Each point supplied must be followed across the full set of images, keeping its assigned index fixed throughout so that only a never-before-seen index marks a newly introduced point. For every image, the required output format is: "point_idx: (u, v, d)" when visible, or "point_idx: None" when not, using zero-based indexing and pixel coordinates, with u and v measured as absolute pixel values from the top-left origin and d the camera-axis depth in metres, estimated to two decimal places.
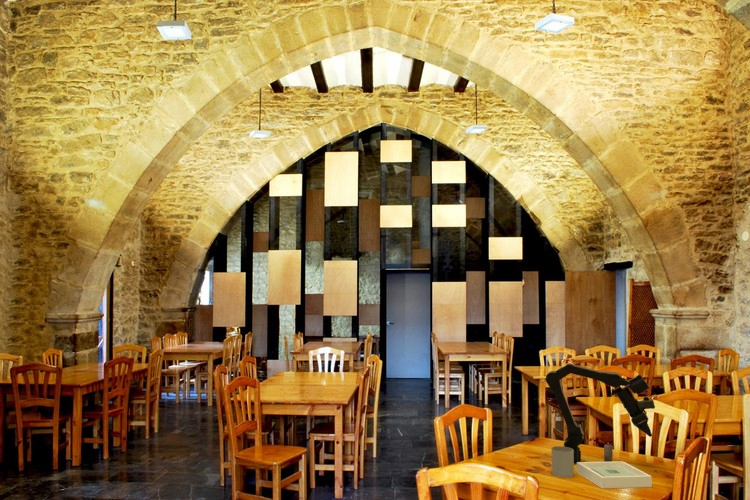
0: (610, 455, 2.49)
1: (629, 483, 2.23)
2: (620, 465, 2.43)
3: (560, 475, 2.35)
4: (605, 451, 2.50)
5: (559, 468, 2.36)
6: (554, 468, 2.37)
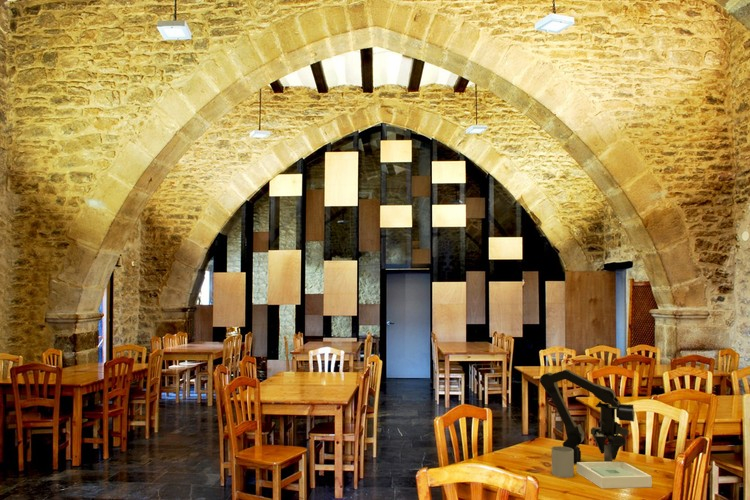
0: (610, 455, 2.49)
1: (629, 483, 2.23)
2: (620, 465, 2.43)
3: (560, 475, 2.35)
4: (605, 451, 2.50)
5: (559, 468, 2.36)
6: (554, 468, 2.37)
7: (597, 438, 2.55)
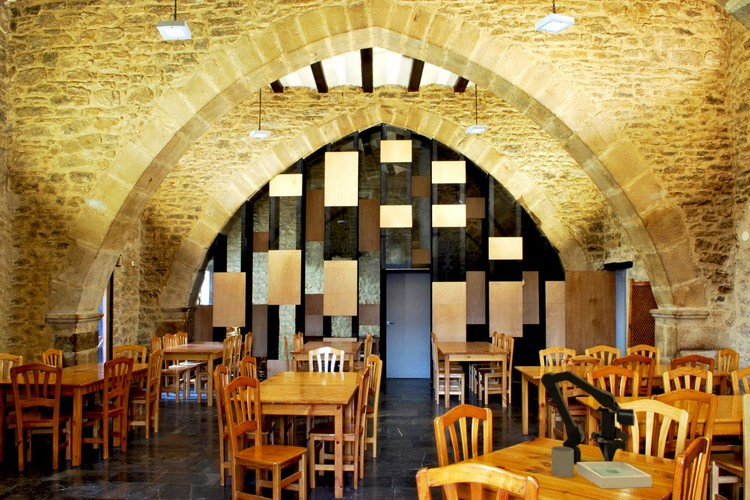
0: None
1: (629, 483, 2.23)
2: (620, 465, 2.43)
3: (560, 475, 2.35)
4: (605, 451, 2.50)
5: (559, 468, 2.36)
6: (554, 468, 2.37)
7: (601, 444, 2.52)
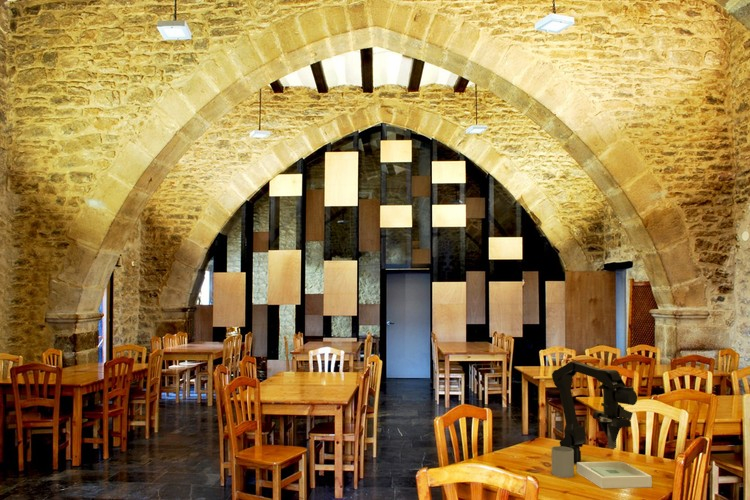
0: None
1: (629, 483, 2.23)
2: (620, 465, 2.43)
3: (560, 475, 2.35)
4: (608, 430, 2.40)
5: (559, 468, 2.36)
6: (554, 468, 2.37)
7: (603, 424, 2.43)
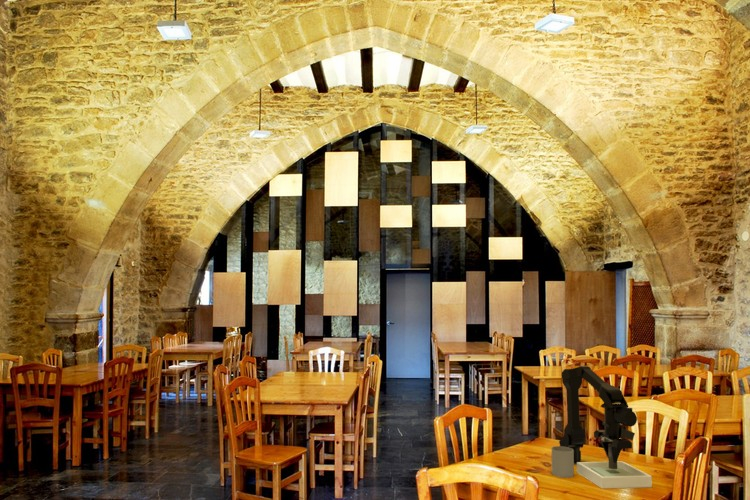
0: None
1: (629, 483, 2.23)
2: (620, 465, 2.43)
3: (560, 475, 2.35)
4: (609, 451, 2.33)
5: (559, 468, 2.36)
6: (554, 468, 2.37)
7: (604, 443, 2.36)
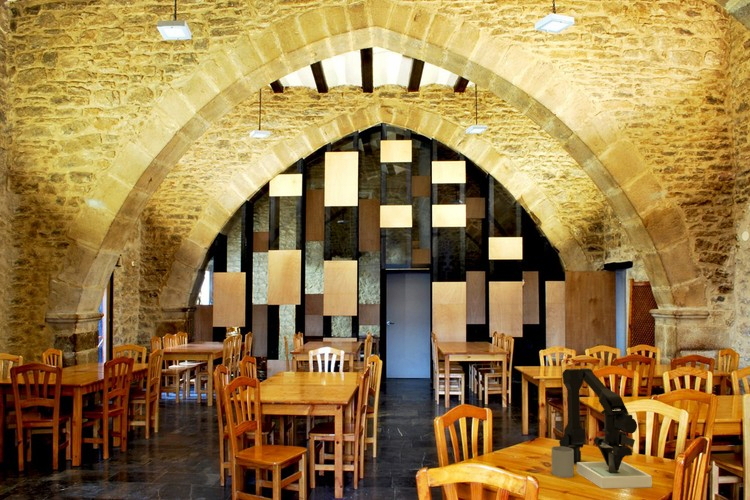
0: None
1: (629, 483, 2.23)
2: (620, 465, 2.43)
3: (560, 475, 2.35)
4: (610, 460, 2.33)
5: (559, 468, 2.36)
6: (554, 468, 2.37)
7: (603, 449, 2.37)
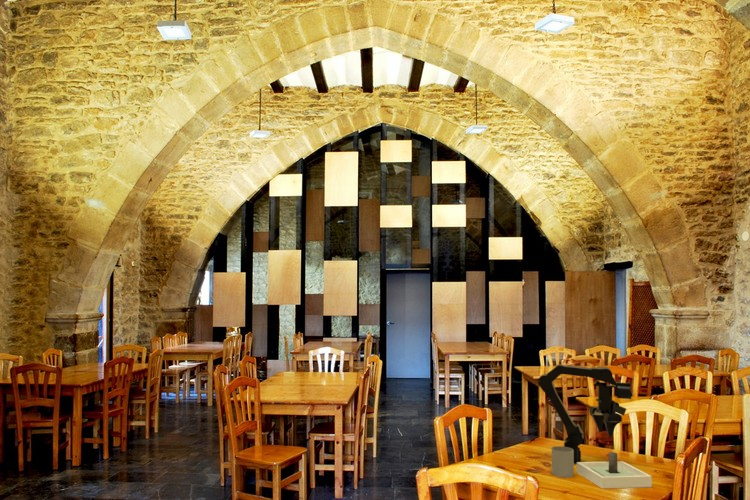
0: (615, 464, 2.32)
1: (629, 483, 2.23)
2: (620, 465, 2.43)
3: (560, 475, 2.35)
4: (610, 459, 2.33)
5: (559, 468, 2.36)
6: (554, 468, 2.37)
7: (595, 416, 2.59)
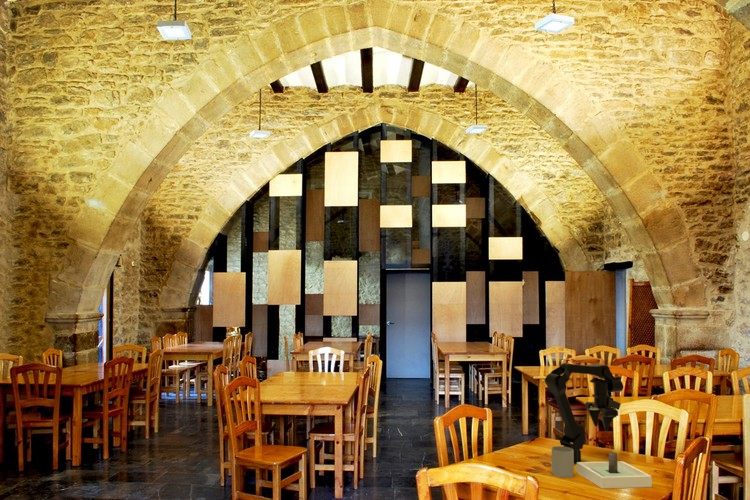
0: (615, 464, 2.32)
1: (629, 483, 2.23)
2: (620, 465, 2.43)
3: (560, 475, 2.35)
4: (610, 460, 2.33)
5: (559, 468, 2.36)
6: (554, 468, 2.37)
7: (591, 412, 2.69)
